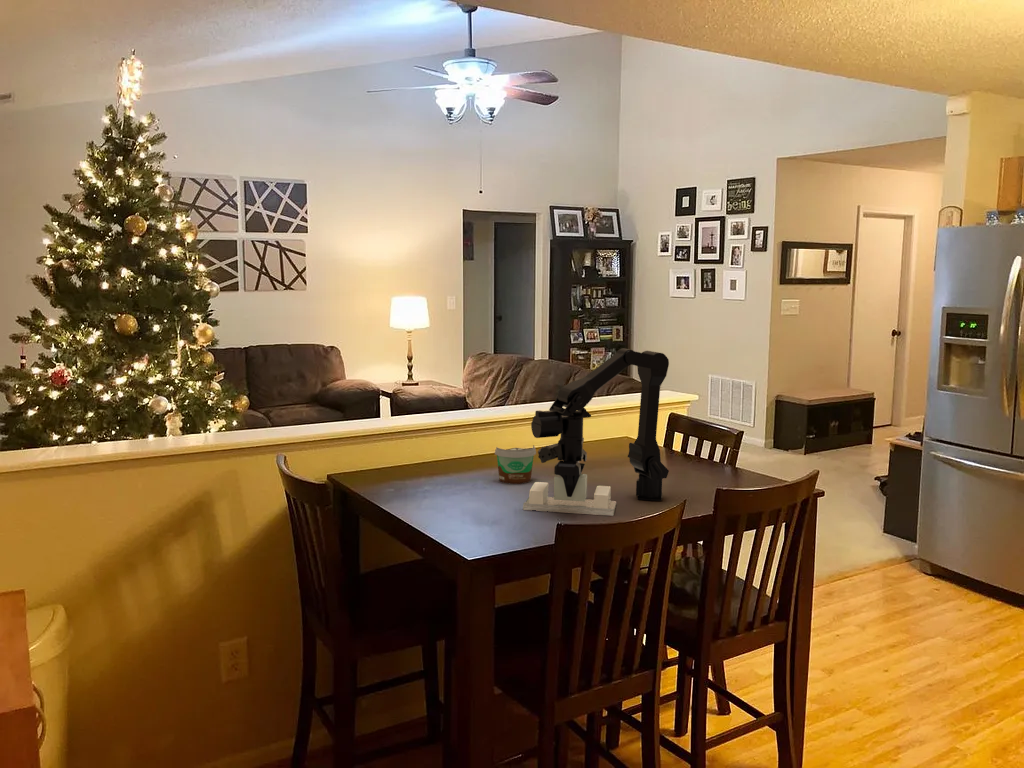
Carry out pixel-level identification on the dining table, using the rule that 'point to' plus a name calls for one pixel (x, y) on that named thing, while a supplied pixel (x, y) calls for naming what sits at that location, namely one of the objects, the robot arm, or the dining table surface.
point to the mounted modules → (540, 495)
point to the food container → (515, 464)
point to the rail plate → (571, 507)
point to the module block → (579, 490)
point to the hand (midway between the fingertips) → (570, 494)
